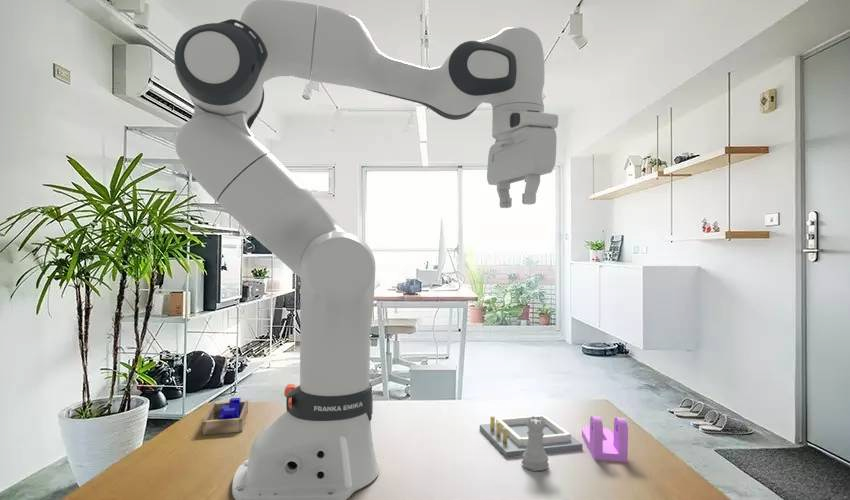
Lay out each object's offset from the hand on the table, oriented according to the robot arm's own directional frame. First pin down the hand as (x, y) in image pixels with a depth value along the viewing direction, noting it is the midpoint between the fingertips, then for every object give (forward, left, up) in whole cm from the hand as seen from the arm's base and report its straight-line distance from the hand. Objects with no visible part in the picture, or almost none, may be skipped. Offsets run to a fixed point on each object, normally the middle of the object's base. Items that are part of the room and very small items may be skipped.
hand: (516, 206), depth 85 cm
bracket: (+18, +1, -44) cm, 48 cm away
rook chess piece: (+2, -4, -44) cm, 44 cm away
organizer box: (-51, +28, -44) cm, 73 cm away
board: (+6, +6, -44) cm, 45 cm away
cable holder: (-51, +28, -44) cm, 73 cm away
